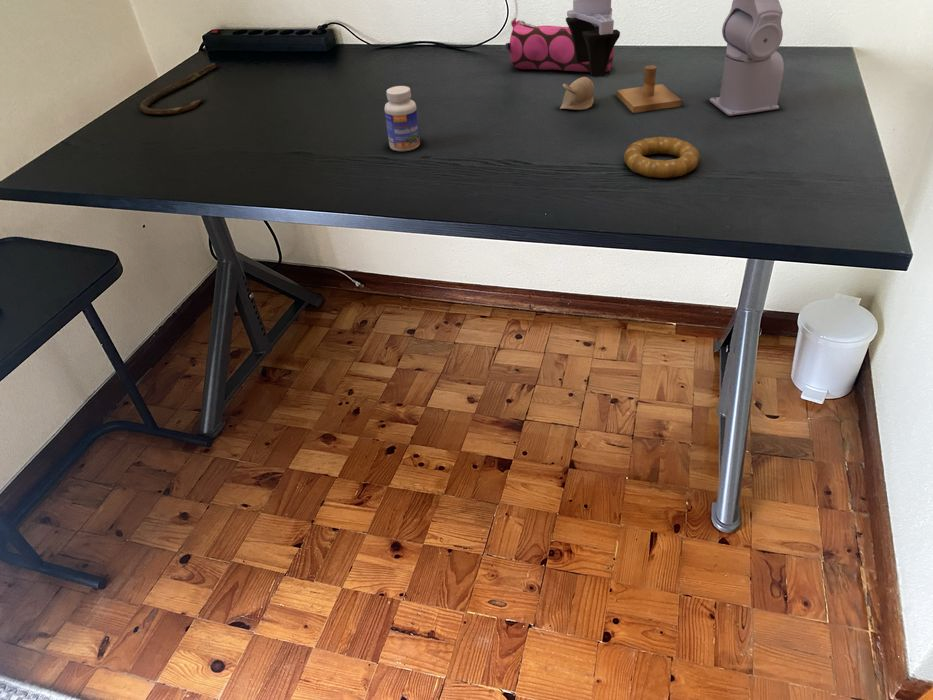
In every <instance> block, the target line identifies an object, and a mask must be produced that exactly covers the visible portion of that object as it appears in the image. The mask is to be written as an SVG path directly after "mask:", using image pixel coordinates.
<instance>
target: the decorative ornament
mask: <svg viewBox="0 0 933 700" xmlns="http://www.w3.org/2000/svg"><path fill="white" fill-rule="evenodd" d="M562 87H563V88H564V89H565V90H566V91H565V92H564V96H563V99H562V104H561V105H560V107H559V110H562V109H563V110H564V109H565V110H573V111H581V110H582V111H583V110H588V109H589V108H592V106H593V104H594V103H595V101H594V100H595V98H594V94H595V86H594V83H593V81H592V79H590V78H589V77H587V76H581V77H579V78H577V79H575V80H574V81H572V82H571V83H570V85H569V84H567V83H563V84H562Z"/></svg>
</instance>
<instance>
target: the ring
mask: <svg viewBox="0 0 933 700" xmlns="http://www.w3.org/2000/svg"><path fill="white" fill-rule="evenodd" d="M650 155H669V156H673V157H676V158H672V159H653V158H649V157H646V156H650ZM700 156H701V155H700V152H699V149H697V148H696V147H695V146H694V145H693V144H692V143H691V142H689V141H686V140H683V139H680V138H676V137H669V136H654V137H647V138H645V137H644V138H641V139H639V140H637V141H635V142H633V143H631V144H629V145H628V146H627V148H626V150H625V152H624V155H623V161H624V164H625V165H626V166H627V167H628V168H629V169H630V170H631V171H632V172H633V173H636V174H638V175H641V176H644V177H647V178H658V179H669V178H676V177H677V178H678V177H682V176H684V175H686V174H688V173H690V172H692V171H693V170H695V169H696V168H697V167H698V164H699V160H700Z"/></svg>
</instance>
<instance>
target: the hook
mask: <svg viewBox="0 0 933 700" xmlns="http://www.w3.org/2000/svg"><path fill="white" fill-rule="evenodd" d="M216 68H217V65H216V63H215V62H211V63H209V64H207V66H206V67H203V68H201V69H200V70H198V71H196V72H193V73H192V74H190V75H188V76H187V77H184V78H183V79H180V80H178V81H176V82H174V83H173V84H170V85H168V86H165V87H163V88H161V89H160V90H158V91H156V92H154V93H152V94H151V95H149V96H147V97H146V98H145V99H144V100H142V101H141V102H140V105H139V109H140V111H141V112H142V113H145V114H147V115H152V116H171V115H178V114H183V113H186V112H189V111H191V110H193V109H195V108H196V107H198V106H199V105H200V104H201V103H202V101H203V100H204V99H203V98H201V99H197V100H194V101H192V102H189V103H188V104H186V105H182V106H179V107H173V108H172V107H171V108H170V107H169V108H152V107H151V108H150V106H151V105H152V104H153V103H155V102H156V101H158V100H160V99H161V98H163V97H165V96H168V95H169V94H171V93H174V92H175V91H177V90H180V89H181V88H183V87H186V86H187V85H189V84H191V83H193V82H194V81H196V80H197V79H199V78H201V77H203V76H204V75H206V74H207V73H209V72H211V71H213V70H215V69H216Z"/></svg>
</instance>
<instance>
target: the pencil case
mask: <svg viewBox="0 0 933 700" xmlns="http://www.w3.org/2000/svg"><path fill="white" fill-rule="evenodd" d="M510 22H511V23H510V25H511V27H512V30H511V33H510V38H509V42H506V43H505V49H506V50H507V53H509V60H510V63H511V65H512V66H513V67H514V68H516V69H520V70H535V71H536V70H537V71H538V70H539V71H550V70H554V71H564V72H578V73H579V72H580V73H590V68H589V62H581V63H578V62H577V59H576V55H575V49H574V43H573V39H572V35H571V32H570V29H569V26H559V25H535V24H532V23H527V22H525V21H524V20H519V19H518V20H517V17H514V18H513V19H512V20H511V21H510ZM614 49H615V46H614V47H613V49H612V52H611V54H610V57H609V61H608V65H607V68H606V72H610V71H611V68H612V63H613V60H614V54H615V53H614V52H615V50H614ZM606 72H605V73H606Z"/></svg>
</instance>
